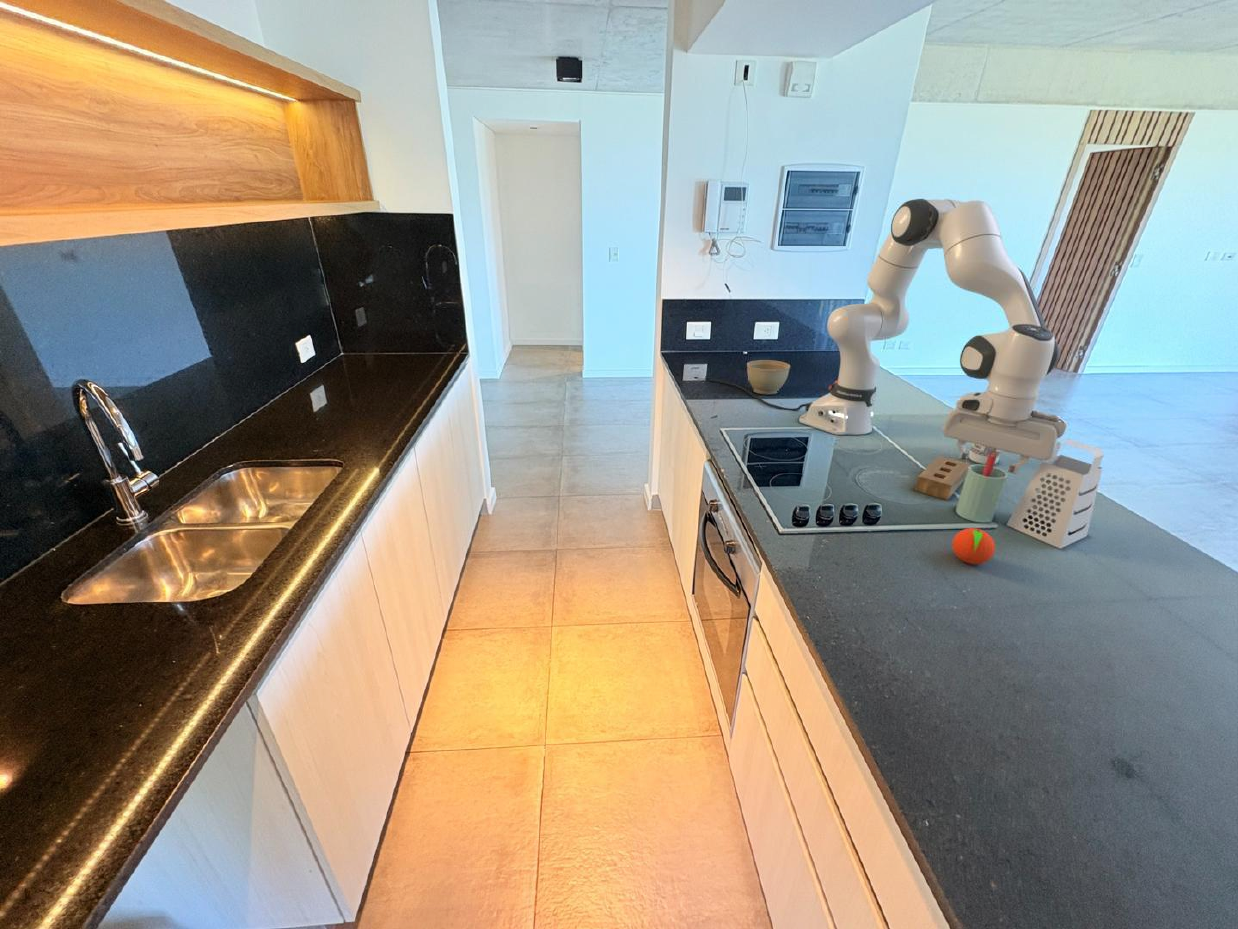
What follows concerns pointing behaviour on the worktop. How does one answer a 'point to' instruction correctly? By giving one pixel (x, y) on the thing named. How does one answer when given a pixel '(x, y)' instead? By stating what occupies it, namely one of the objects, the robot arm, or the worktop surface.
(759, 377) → the planter bowl
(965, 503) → the cup
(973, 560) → the clementine
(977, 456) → the bath foam
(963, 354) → the robot arm
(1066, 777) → the worktop surface
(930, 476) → the block
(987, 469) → the straw
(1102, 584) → the worktop surface
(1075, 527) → the grater
